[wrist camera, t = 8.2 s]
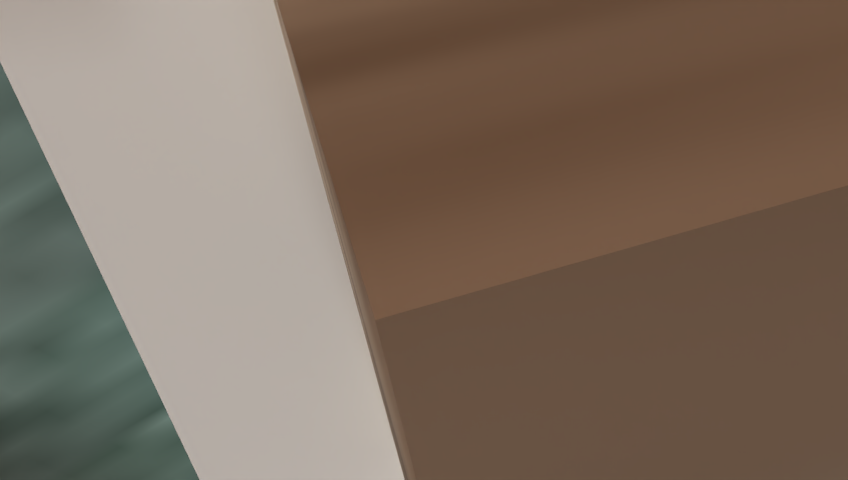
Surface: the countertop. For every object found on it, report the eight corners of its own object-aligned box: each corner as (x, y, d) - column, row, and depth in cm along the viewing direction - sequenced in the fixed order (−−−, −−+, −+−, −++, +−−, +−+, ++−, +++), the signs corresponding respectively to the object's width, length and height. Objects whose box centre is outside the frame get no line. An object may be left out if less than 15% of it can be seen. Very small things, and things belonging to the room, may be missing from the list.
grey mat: (703, 384, 17) (711, 393, 16) (229, 529, 16) (229, 541, 15) (722, -305, 10) (735, -307, 10) (-85, -137, 9) (-93, -134, 9)
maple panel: (546, 406, 16) (869, 1014, 8) (396, 451, 15) (586, 1130, 8) (477, -162, 10) (1271, 63, 3) (243, -109, 10) (374, 317, 2)
